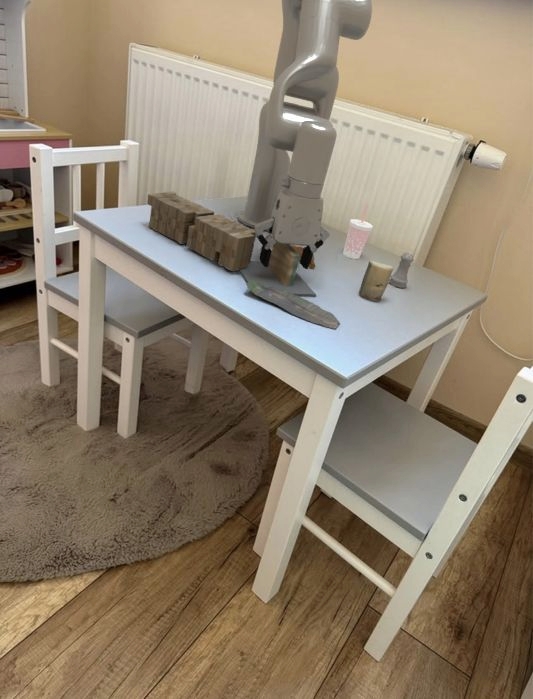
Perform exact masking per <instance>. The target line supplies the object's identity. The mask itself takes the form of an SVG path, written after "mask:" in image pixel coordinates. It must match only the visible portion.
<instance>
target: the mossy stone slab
mask: <svg viewBox="0 0 533 699" xmlns="http://www.w3.org/2000/svg"><path fill="white" fill-rule="evenodd" d="M245 285H246V288H247V289H248V290H249V291H251V292H252V293H253V292H254V293H253V295H254V296H257V297H260V298H262V299H263V300H265V301H268V302H270V303H271V304H272V303H273V304H274V305H277V306H278V307H280V308H282V310H285V311H286V312H288V313H290V314H291V315H294V316H296V317H298V318H301V319H303V320H306V321H307V322H311V323H313V324H317V325H321V326H323V327H325V328H326V327H327V328H330V329H332V330H335V329H337V327H338V326H340V325H341V323H340V321H339V320H338V318H337V317H336V316H335V315H334V314H333V313H332V312H330V311H327V310H325V309H323V308H322V307H321V306H319V305H317V304H315V303H314V302H312V301H310V300H307V299H305V298H304V297H301V296H297V295H294V294H292V293H291V292H288V291H287V290H283V289H281V288H277V287H264V286H263V285H262V284H260V283H257V282H255V281H250V282H249V283H245Z"/></svg>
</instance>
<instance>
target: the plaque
mask: <svg viewBox="0 0 533 699" xmlns="http://www.w3.org/2000/svg"><path fill="white" fill-rule="evenodd" d="M271 250H272V252H271V257H270V261H269V265H268V266H269V267H270V269H271V270H272V271H273V272H274V274H275V275H276V276H277V277H278V279H279V280H280V281H281V282H282V284H283V285H284V286H293V283H294V279H295V275H296V272H298V271H297V270H298V267H299V265H300V262H299V260H300V255H299V254H298V253H297V252H296V251H295V250H294V249H293V248H292V246H291V244H281V243H277V242H276V243H275V244H274V245H273V246H272V247H271Z"/></svg>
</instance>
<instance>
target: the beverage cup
mask: <svg viewBox="0 0 533 699" xmlns="http://www.w3.org/2000/svg"><path fill="white" fill-rule="evenodd" d="M368 208H369V204H366V205H365V209H364V211H363V213H362V214H363V215H362V218H361V219H357V218H356V219H355V218H351V219H350V220H349V228H348V231H347V235H346V239H345V244H344V248H343V251H342V254H343V256H345V257H347V258H350V259H353V260H354V259H355V260H357V259H360V257H361V254H362V253H363V250H364V247H365V245H366V242H367V241H368V238H369V235H370V232H371V231H373V230H372V229H373V228H374V226H373V225H372V224H371V223H369V222H367V221H365V217H366V213H367V210H368Z"/></svg>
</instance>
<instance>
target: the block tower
mask: <svg viewBox="0 0 533 699" xmlns="http://www.w3.org/2000/svg"><path fill="white" fill-rule="evenodd" d="M146 203H147V205H149V206H150V207H151V208H150V215H149V217H150V218H149V222H148V224H149V228H151V229H152V230H153V231H156V232H158V233H159V234H162V235H164V236H166V237H167V238H169V239H171V240H172V241H176V242H177V243H178V244H180V245H183V244H186V247H187V248H189V249H190V250H193V251H194V252H196V253H197V254H200V255H201V256H202V257H205V258H207V259H210V260H211V261H218V265H220V266H222V267H225V268H226V269H228V270H229V271H231V272H235V271H238V270H239V269H244V268H247V266H248V263H250V261H252V260H251V259H252V255H253V250H254V246H255V242H256V238H257V237H256V232H255V229H251V228H249V227H248V226H247V225H245V224H241V223H239V222H236V221H235V220H232V219H229V218H228V217H226V216H224V215H221V214H220V213H219V214H215V211H214V210H211V209H208V208H206V207H205V206H202V205H201V204H199V203H196V202H194V201H191V200H188V199H187V198H185V197H182V196H179V195H177V192H175V191H165V192H153V193H148V194H147V202H146Z"/></svg>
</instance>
